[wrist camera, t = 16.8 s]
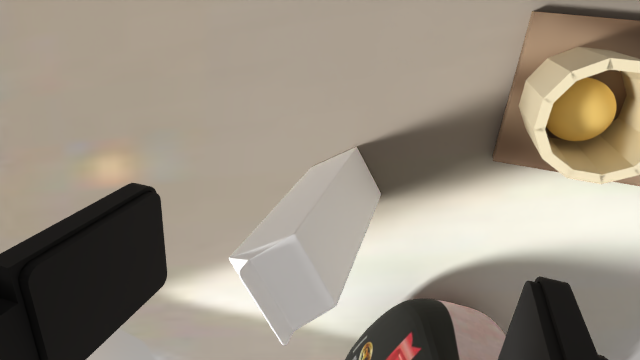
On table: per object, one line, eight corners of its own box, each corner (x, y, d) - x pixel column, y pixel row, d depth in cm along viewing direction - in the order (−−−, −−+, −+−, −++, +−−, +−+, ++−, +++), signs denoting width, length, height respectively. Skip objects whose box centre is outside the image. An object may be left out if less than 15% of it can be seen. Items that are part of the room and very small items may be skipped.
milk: (357, 145, 43) (277, 257, 24) (382, 194, 44) (326, 339, 25) (309, 167, 46) (202, 283, 26) (334, 212, 47) (249, 356, 28)
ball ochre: (552, 66, 34) (554, 82, 30) (621, 75, 32) (634, 94, 28) (533, 121, 37) (533, 143, 33) (597, 133, 35) (605, 157, 31)
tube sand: (536, 42, 34) (557, 52, 27) (653, 54, 32) (709, 68, 25) (509, 139, 37) (521, 170, 30) (612, 155, 35) (651, 192, 28)
